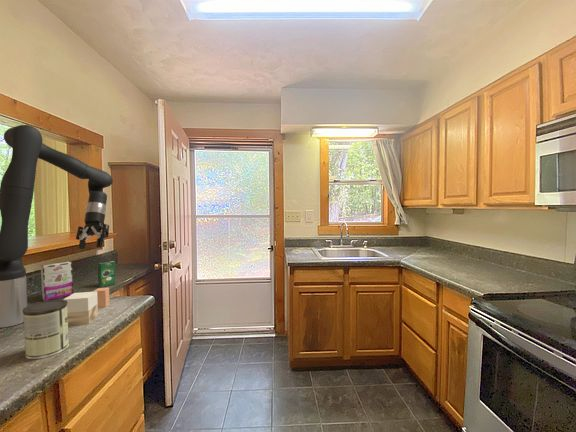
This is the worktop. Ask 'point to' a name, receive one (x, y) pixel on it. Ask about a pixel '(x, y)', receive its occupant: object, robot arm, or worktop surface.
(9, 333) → the worktop surface
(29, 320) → the coffee can
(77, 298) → the cream tower block
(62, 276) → the candy bar box
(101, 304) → the peach block
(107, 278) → the coffee box
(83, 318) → the oak tower block
